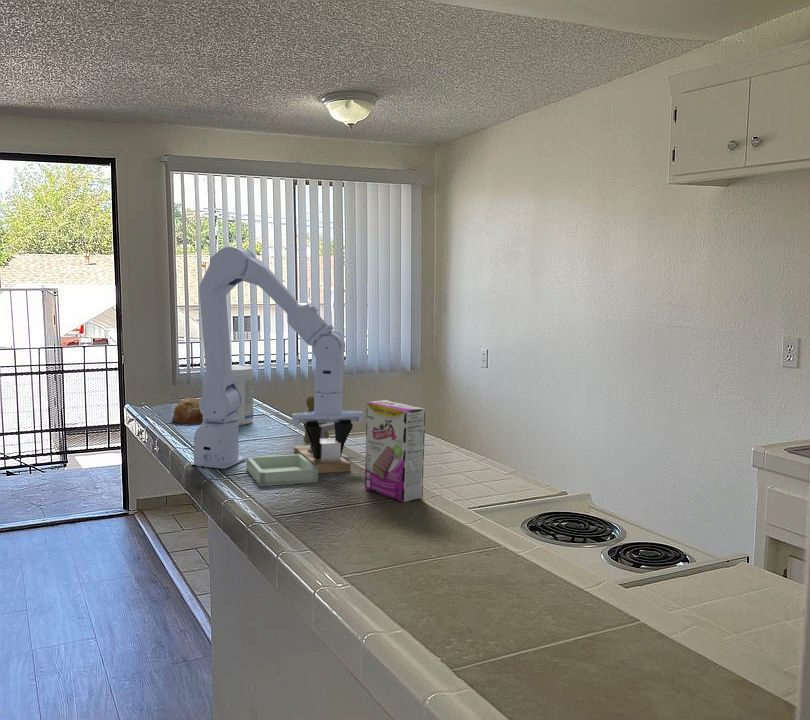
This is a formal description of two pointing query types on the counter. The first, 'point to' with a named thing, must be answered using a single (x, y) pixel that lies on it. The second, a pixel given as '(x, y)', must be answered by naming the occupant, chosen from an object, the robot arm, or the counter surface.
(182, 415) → the bread roll
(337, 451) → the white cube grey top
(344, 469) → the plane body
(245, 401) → the supplement tub
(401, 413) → the candy bar box
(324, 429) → the lever
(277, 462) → the tray
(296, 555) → the counter surface
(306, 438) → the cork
